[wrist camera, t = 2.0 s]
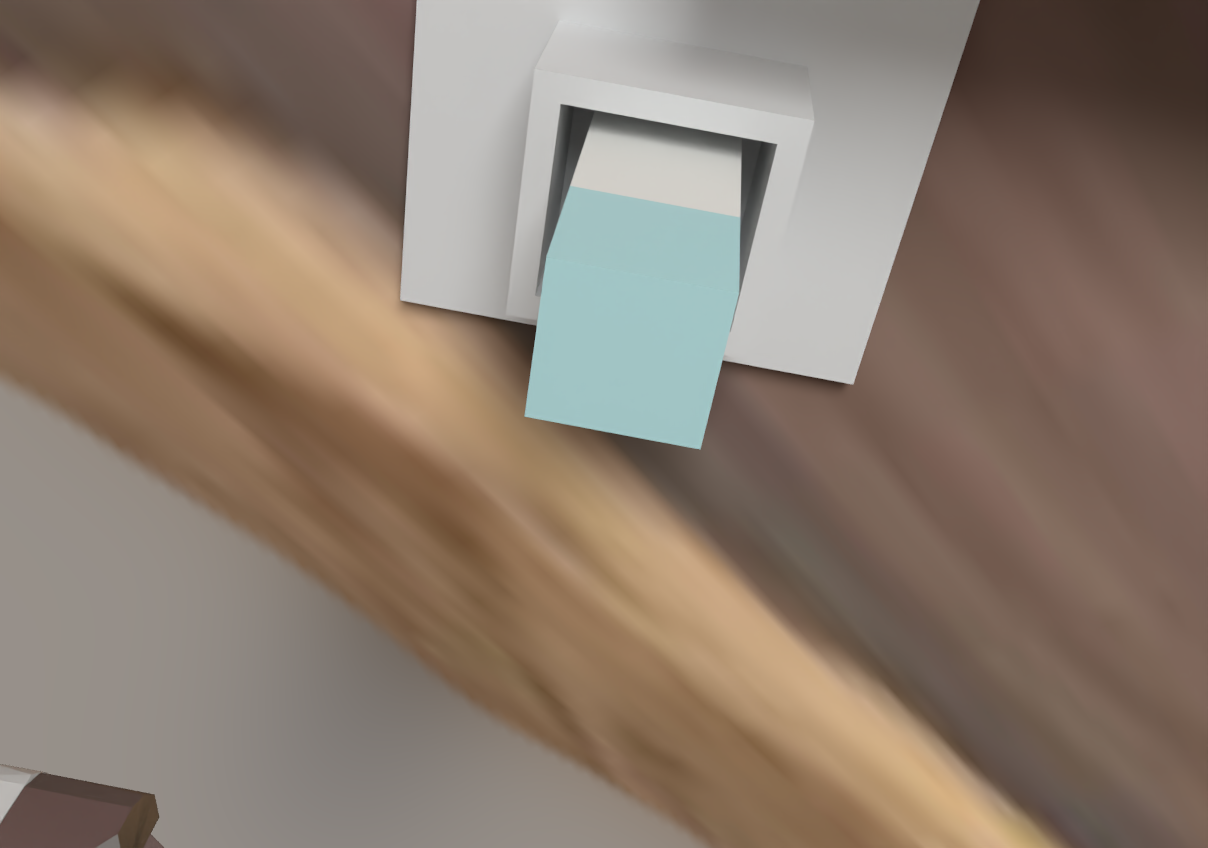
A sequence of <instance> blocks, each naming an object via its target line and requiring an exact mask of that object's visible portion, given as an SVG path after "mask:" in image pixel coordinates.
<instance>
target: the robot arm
mask: <svg viewBox="0 0 1208 848" xmlns="http://www.w3.org/2000/svg"><path fill="white" fill-rule="evenodd" d="M158 819H159V813H158V808H157V804H156V799H155V795H154V794H149V793H144V792H139V791H134V790H128V789H123V788H118V787H113V786H108V785H103V784H97V783H93V782H87V781H82V780H77V779H72V778H67V777H61V776H56V775H51V774H48V773H45V772H41V771H35V770H30V769H25V768H19V767H14V766H8V765H3V764H0V848H164V847H163V846H162V845H161V844H160V843H159V842H158V841H157V840H156V839H155V838H154V837H153V836H152V835H151V832H152V830H153V828H154V826H155V824H156V822H157V821H158Z"/></svg>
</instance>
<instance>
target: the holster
mask: <svg viewBox="0 0 1208 848" xmlns="http://www.w3.org/2000/svg"><path fill="white" fill-rule="evenodd" d="M979 2H980V0H417V8H416V26H415V44H414V62H413V80H412V98H411V116H410V134H409V151H408V169H407V187H406V205H405V223H404V241H403V259H402V277H401V295H400V300H402V301H407V302H412V303H418V304H423V305H428V306H434V307H439V308H445V309H450V310H455V311H461V312H466V313H471V314H477V315H482V316H487V317H493V318H498V319H504V320H509V321H514V322H520V323H525V324H530V325H536V326H537V321H538V314H539V306H540V299H541V292H542V284H543V277H544V270H545V262H546V256H547V253H548V250H549V247H550V244H551V241H552V238H553V235H554V232H555V229H556V226H557V223H558V220H559V217H560V214H561V211H562V208H563V205H564V202H565V199H566V196H567V193H568V190H569V187H570V184H571V181H572V178H573V175H574V172H575V169H576V166H577V163H578V160H579V157H580V154H581V151H582V148H583V145H584V142H585V139H586V136H587V133H588V130H589V127H590V124H591V121H592V118H593V115H594V112H595V110H597V111H602V112H607V113H613V114H618V115H624V116H629V117H634V118H640V119H645V120H650V121H656V122H661V123H667V124H672V125H677V126H683V127H688V128H693V129H699V130H704V131H710V132H715V133H720V134H726V135H731V136H736V137H742V156H741V214H740V272H739V296H738V300H737V304H736V308H735V312H734V316H733V320H732V324H731V328H730V332H729V336H728V340H727V344H726V348H725V352H724V356H723V360H724V361H729V362H735V363H740V364H745V365H751V366H756V367H761V368H767V369H772V370H778V371H783V372H788V373H794V374H799V375H804V376H810V377H815V378H821V379H826V380H831V381H837V382H842V383H847V384H853V383H854V380H855V377H856V374H857V371H858V368H859V365H860V362H861V359H862V356H863V353H864V350H865V347H866V344H867V341H868V338H869V335H870V332H871V329H872V325H873V322H874V319H875V316H876V313H877V310H878V307H879V304H880V301H881V298H882V295H883V292H884V289H885V286H886V283H887V280H888V277H889V274H890V271H891V268H892V265H893V262H894V259H895V256H896V253H897V250H898V247H899V244H900V241H901V238H902V235H903V232H904V229H905V226H906V223H907V220H908V217H909V214H910V211H911V208H912V205H913V201H914V198H915V195H916V192H917V189H918V186H919V183H920V180H921V177H922V174H923V171H924V168H925V165H926V162H927V159H928V156H929V153H930V150H931V147H932V144H933V141H934V138H935V135H936V132H937V129H938V126H939V123H940V120H941V117H942V114H943V111H944V108H945V105H946V102H947V99H948V96H949V93H950V90H951V87H952V84H953V81H954V77H955V74H956V71H957V68H958V65H959V62H960V59H961V56H962V53H963V50H964V47H965V44H966V41H967V38H968V35H969V32H970V29H971V26H972V23H973V20H974V17H975V14H976V11H977V8H978V5H979Z"/></svg>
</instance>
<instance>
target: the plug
mask: <svg viewBox="0 0 1208 848" xmlns="http://www.w3.org/2000/svg"><path fill="white" fill-rule="evenodd" d="M741 156H742V137H736V136H731V135H726V134H720V133H715V132H710V131H704V130H699V129H693V128H688V127H683V126H677V125H672V124H667V123H661V122H656V121H650V120H645V119H640V118H634V117H629V116H624V115H618V114H613V113H607V112H602V111H597V110H595V112H594V115H593V118H592V121H591V124H590V127H589V130H588V133H587V136H586V139H585V142H584V145H583V148H582V151H581V154H580V157H579V160H578V163H577V166H576V169H575V172H574V175H573V178H572V181H571V184H570V187H569V190H568V193H567V196H566V199H565V202H564V205H563V208H562V211H561V214H560V217H559V220H558V223H557V226H556V229H555V232H554V235H553V238H552V241H551V244H550V247H549V250H548V253H547V256H546V262H545V270H544V277H543V284H542V292H541V299H540V306H539V314H538V321H537V329H536V336H535V343H534V351H533V358H532V365H531V373H530V380H529V387H528V395H527V402H526V409H525V417H529V418H535V419H540V420H545V421H551V422H556V423H562V424H567V425H572V426H578V427H583V428H588V429H594V430H599V431H604V432H610V433H615V434H621V435H626V436H631V437H637V438H642V439H647V440H653V441H658V442H664V443H669V444H674V445H680V446H685V447H690V448H696V449H701V445H702V441H703V437H704V432H705V428H706V424H707V420H708V416H709V412H710V408H711V404H712V400H713V396H714V392H715V388H716V384H717V380H718V376H719V372H720V368H721V364H722V360H723V356H724V352H725V348H726V344H727V340H728V336H729V332H730V328H731V324H732V320H733V316H734V312H735V308H736V304H737V300H738V296H739V272H740V214H741Z"/></svg>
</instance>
